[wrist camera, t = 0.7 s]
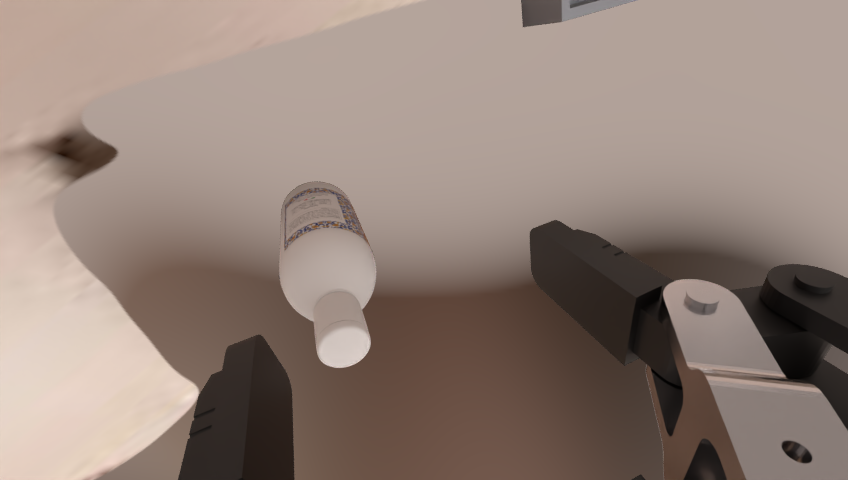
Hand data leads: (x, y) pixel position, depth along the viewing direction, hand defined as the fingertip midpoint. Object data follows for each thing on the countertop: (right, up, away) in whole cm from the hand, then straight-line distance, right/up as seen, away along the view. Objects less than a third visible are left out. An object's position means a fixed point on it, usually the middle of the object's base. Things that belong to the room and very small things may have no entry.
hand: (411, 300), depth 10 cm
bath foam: (-11, +5, +26) cm, 28 cm away
